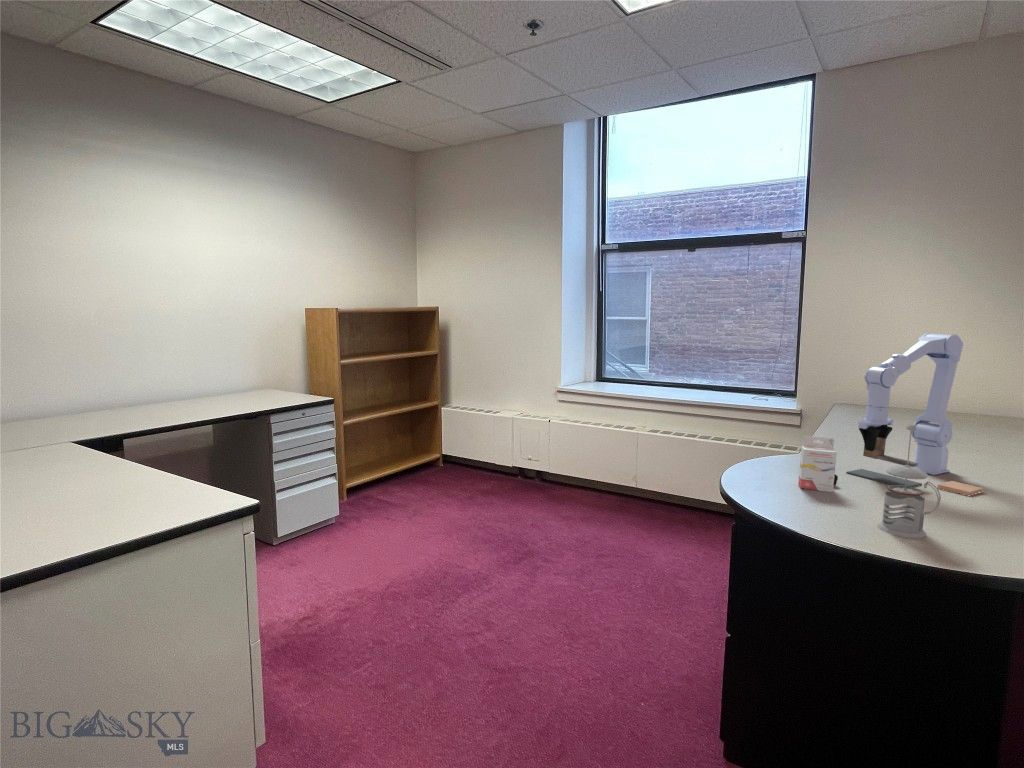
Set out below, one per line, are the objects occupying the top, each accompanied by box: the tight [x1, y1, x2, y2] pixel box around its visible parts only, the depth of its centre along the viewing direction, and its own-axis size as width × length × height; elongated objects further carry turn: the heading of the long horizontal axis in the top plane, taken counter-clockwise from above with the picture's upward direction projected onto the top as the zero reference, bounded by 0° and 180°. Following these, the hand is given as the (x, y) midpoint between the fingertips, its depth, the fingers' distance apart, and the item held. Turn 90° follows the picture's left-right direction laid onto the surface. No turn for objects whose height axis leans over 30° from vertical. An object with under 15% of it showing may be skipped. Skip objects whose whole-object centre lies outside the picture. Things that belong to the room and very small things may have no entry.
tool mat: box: [845, 468, 923, 488], centre depth 181 cm, size 8×18×1 cm, turn 28°
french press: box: [876, 424, 942, 539], centre depth 136 cm, size 10×12×25 cm
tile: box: [936, 480, 985, 496], centre depth 171 cm, size 8×2×8 cm
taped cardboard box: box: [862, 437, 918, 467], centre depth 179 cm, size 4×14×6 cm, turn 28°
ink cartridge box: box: [797, 435, 837, 493], centre depth 170 cm, size 9×5×15 cm, turn 71°
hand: (873, 449), depth 183 cm, fingers closed on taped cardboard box, 4 cm apart
